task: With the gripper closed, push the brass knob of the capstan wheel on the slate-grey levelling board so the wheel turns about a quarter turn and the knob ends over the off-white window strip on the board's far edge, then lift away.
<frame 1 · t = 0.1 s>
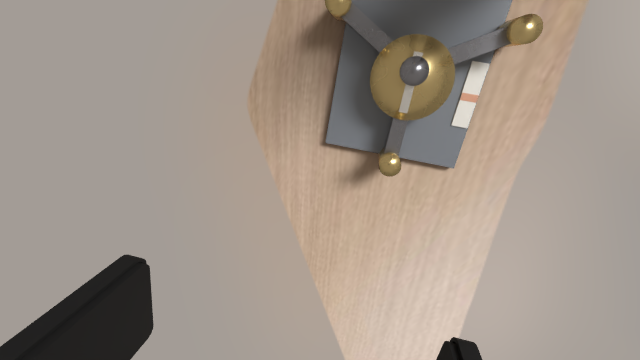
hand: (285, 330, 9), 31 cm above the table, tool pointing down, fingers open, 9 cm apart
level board: (408, 70, 34), on the table
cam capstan: (406, 95, 32), point 3 cm above the table, hinge at 0.0°
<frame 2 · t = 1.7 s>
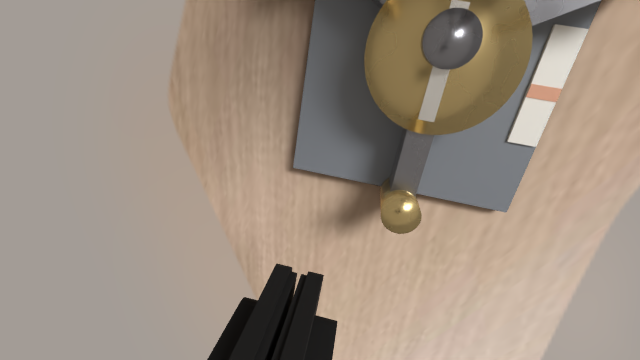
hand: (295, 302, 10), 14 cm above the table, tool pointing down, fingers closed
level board: (433, 45, 20), on the table
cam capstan: (431, 88, 17), point 3 cm above the table, hinge at 0.0°
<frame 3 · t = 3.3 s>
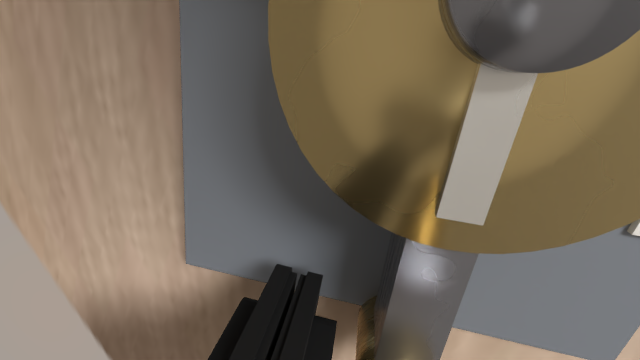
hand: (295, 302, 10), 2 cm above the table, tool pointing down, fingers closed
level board: (459, 18, 9), on the table
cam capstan: (467, 126, 6), point 3 cm above the table, hinge at 1.7°, touching gripper
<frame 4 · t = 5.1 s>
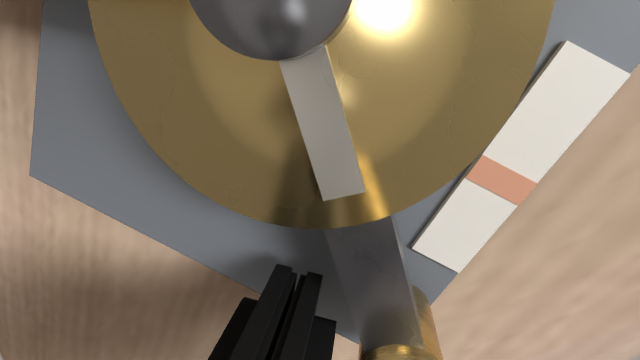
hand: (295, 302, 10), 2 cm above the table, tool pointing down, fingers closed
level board: (320, 15, 9), on the table
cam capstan: (328, 109, 7), point 3 cm above the table, hinge at 43.1°, touching gripper
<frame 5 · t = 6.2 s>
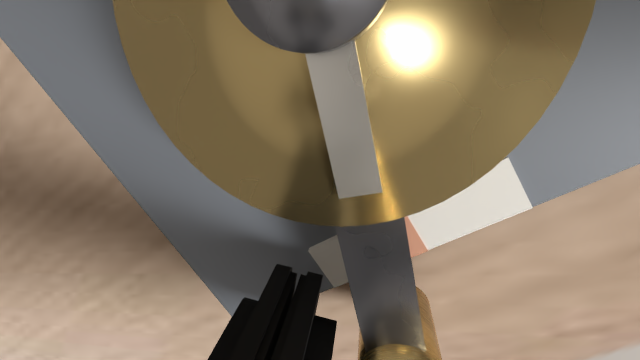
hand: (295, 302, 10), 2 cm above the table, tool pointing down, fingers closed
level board: (341, 8, 9), on the table
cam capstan: (348, 105, 7), point 3 cm above the table, hinge at 70.6°, touching gripper
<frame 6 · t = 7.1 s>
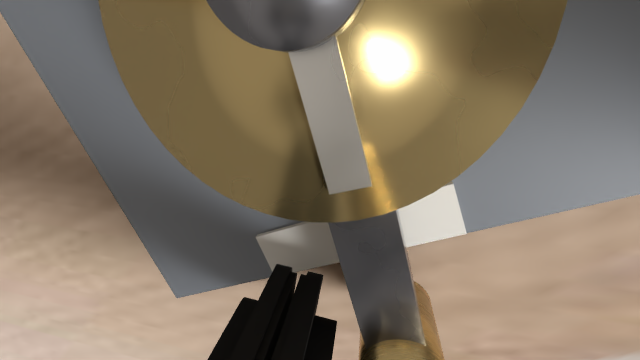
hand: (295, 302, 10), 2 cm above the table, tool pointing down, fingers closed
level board: (327, 9, 9), on the table
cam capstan: (335, 102, 7), point 3 cm above the table, hinge at 84.7°, touching gripper
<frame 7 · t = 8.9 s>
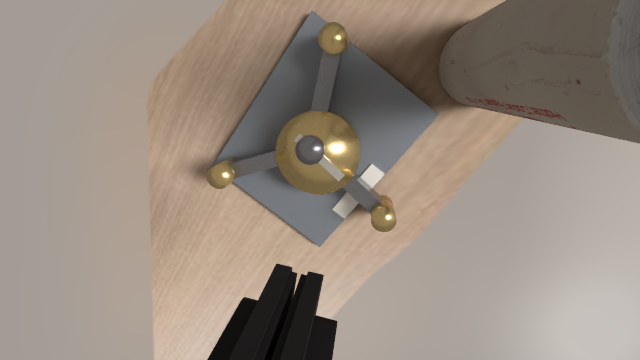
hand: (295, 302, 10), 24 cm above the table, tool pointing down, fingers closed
thermos bottle: (481, 63, 29), on the table
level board: (317, 141, 34), on the table
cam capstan: (330, 163, 31), point 3 cm above the table, hinge at 84.8°
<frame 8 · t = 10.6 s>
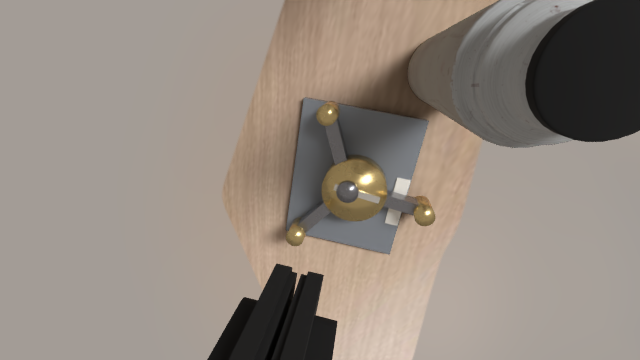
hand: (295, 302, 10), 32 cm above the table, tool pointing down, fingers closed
thermos bottle: (441, 70, 36), on the table
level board: (350, 179, 43), on the table
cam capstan: (366, 193, 39), point 3 cm above the table, hinge at 84.8°
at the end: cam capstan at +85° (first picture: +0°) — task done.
